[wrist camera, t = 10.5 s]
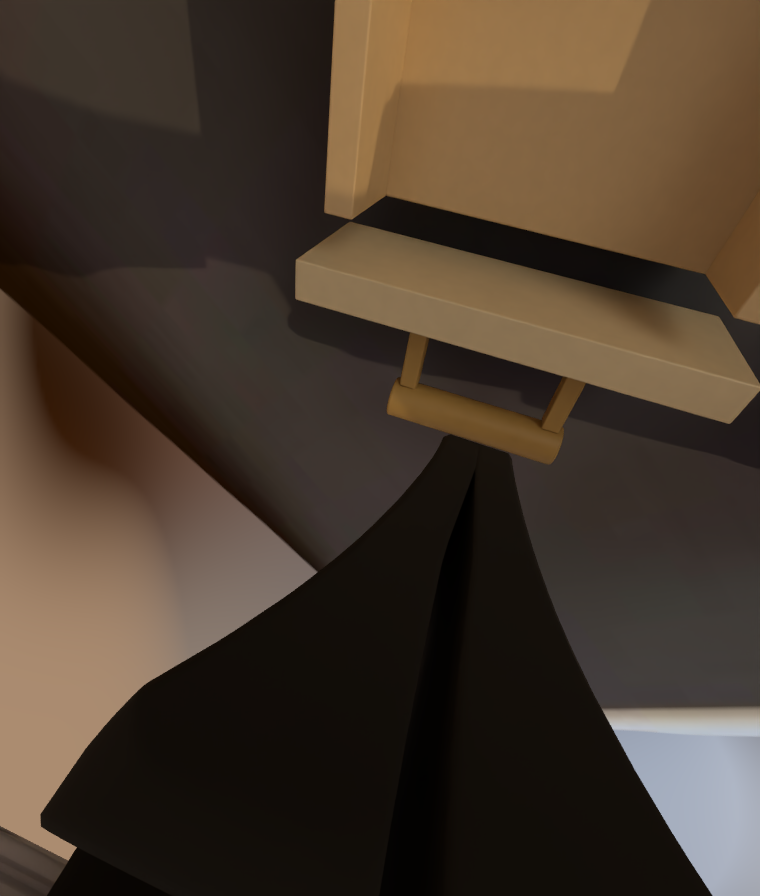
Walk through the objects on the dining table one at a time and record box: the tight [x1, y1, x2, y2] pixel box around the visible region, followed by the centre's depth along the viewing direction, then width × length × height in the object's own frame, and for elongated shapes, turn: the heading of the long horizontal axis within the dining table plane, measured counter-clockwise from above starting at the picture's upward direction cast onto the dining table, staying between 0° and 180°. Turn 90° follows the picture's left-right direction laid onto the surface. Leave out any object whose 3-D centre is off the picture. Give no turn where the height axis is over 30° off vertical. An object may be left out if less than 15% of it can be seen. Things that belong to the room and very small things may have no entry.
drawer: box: [295, 0, 760, 464], centre depth 10 cm, size 19×12×4 cm, turn 172°
